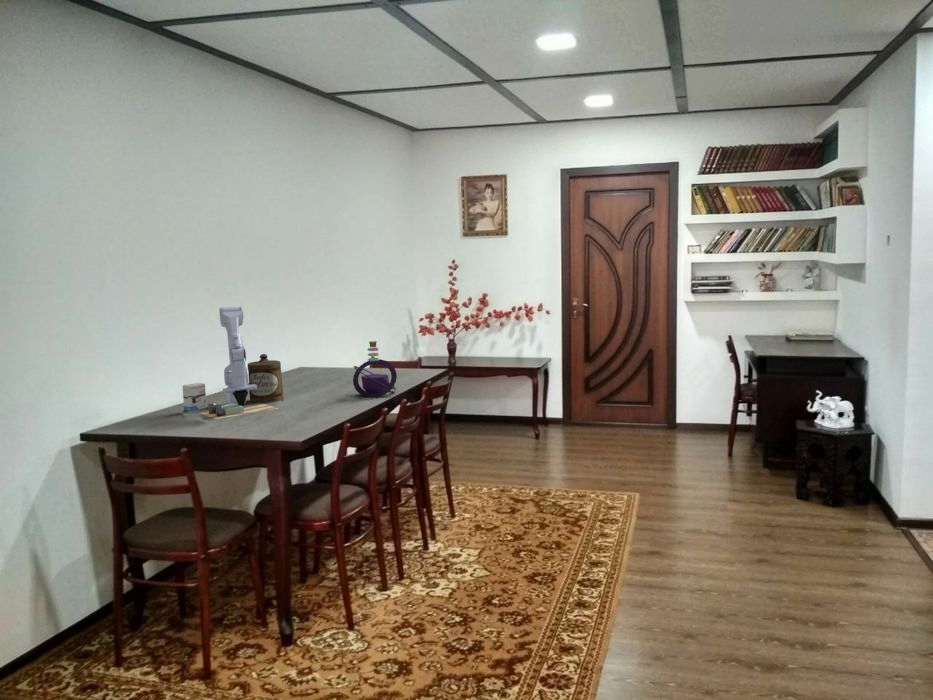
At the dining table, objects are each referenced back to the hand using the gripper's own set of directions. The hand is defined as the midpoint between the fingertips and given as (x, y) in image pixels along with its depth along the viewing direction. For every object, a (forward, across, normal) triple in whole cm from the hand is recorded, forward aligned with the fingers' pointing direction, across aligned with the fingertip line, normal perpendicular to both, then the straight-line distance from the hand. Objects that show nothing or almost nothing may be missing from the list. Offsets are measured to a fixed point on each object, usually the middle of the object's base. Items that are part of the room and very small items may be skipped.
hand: (241, 408), depth 325 cm
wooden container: (+2, +19, +15) cm, 24 cm away
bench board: (+2, -1, 0) cm, 2 cm away
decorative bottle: (+2, +63, -8) cm, 64 cm away
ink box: (+2, -12, +20) cm, 23 cm away
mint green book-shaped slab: (+1, -5, 0) cm, 5 cm away
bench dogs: (+2, -11, 0) cm, 11 cm away
